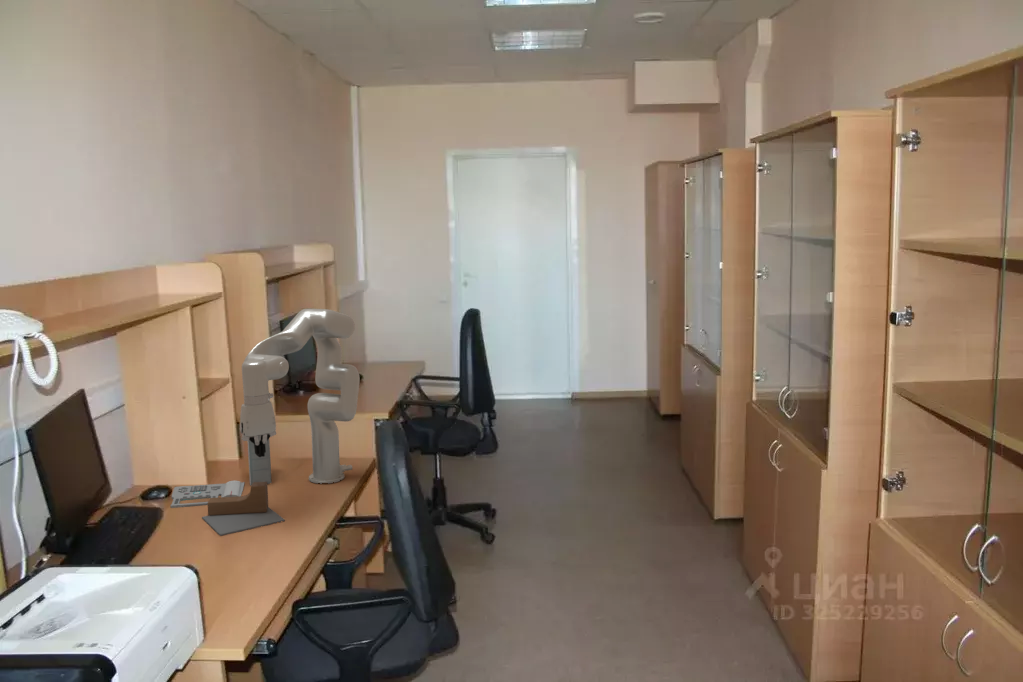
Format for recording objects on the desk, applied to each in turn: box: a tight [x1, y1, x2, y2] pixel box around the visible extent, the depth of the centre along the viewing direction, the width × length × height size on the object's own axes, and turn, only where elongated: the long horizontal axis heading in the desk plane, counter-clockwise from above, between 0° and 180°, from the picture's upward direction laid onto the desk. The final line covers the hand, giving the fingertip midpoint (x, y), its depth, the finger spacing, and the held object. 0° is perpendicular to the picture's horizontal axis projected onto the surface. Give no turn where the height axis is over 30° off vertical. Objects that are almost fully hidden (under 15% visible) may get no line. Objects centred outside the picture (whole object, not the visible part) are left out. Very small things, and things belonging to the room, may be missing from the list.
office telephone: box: [170, 480, 245, 509], centre depth 278 cm, size 23×3×20 cm
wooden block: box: [207, 482, 269, 516], centre depth 261 cm, size 9×4×18 cm
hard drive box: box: [246, 435, 272, 486], centre depth 295 cm, size 16×8×20 cm, turn 17°
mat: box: [201, 506, 286, 537], centre depth 256 cm, size 20×18×1 cm
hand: (260, 455), depth 257 cm, fingers closed
